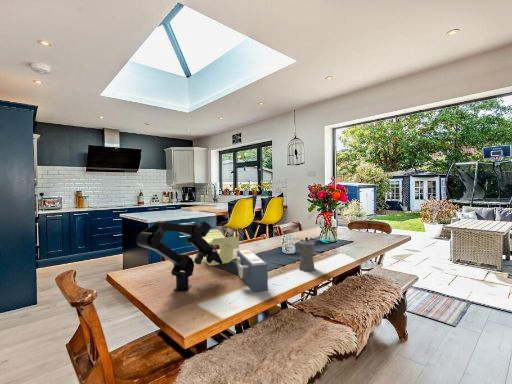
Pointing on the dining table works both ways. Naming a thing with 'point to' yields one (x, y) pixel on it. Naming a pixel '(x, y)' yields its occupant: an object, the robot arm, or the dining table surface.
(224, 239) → the slatted curved stool
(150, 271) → the dining table surface
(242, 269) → the button near
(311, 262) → the coffeepot
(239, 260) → the button far
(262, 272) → the switch box
